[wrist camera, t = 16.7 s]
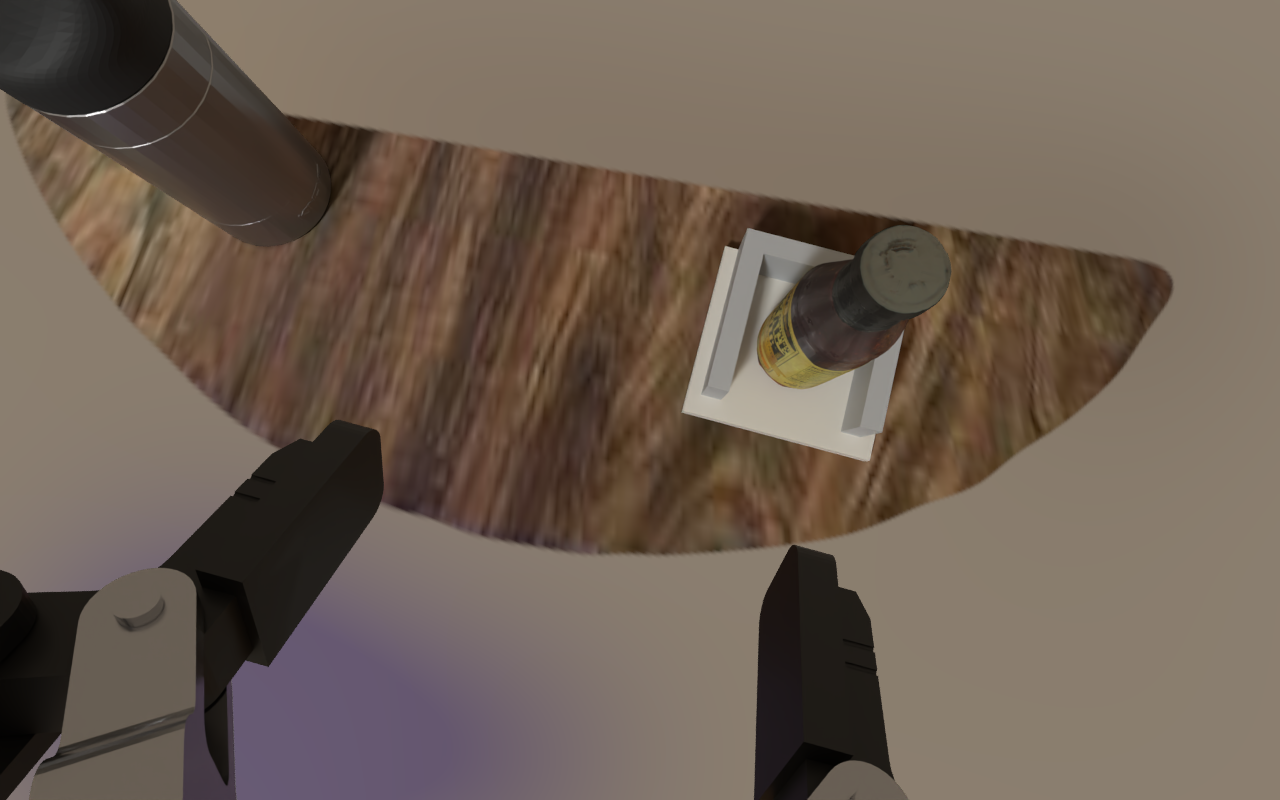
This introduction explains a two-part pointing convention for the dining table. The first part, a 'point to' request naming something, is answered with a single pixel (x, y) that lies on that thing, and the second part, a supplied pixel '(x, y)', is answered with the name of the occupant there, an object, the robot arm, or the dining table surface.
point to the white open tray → (740, 386)
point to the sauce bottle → (853, 308)
